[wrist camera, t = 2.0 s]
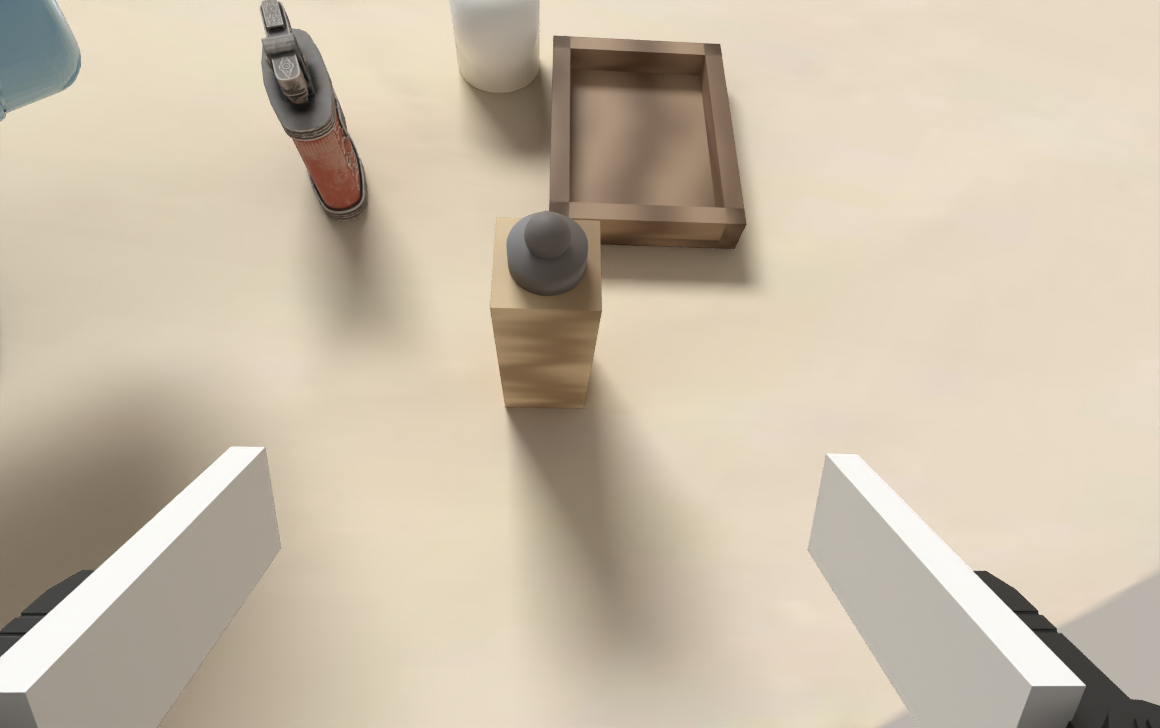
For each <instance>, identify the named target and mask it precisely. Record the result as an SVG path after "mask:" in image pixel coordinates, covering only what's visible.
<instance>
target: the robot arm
mask: <svg viewBox="0 0 1160 728" xmlns="http://www.w3.org/2000/svg"><path fill="white" fill-rule="evenodd" d="M80 67H81V54H80V50H79V47H78V44H77V41H76V39H75V37H74V35H73V33H72V31H71V29H70V27H69V25H68V23H67V21H66V19H65V17H64V15H63V13H62V11H61V9H60V8H59V6H58V4H57V2H56V0H0V122H1V121H2V120H3V119H4V118H5V117H6V113H8V112H11V111H13V110H16V109H18V108H21V107H23V106H26V105H28V104H31V103H33V102H36V101H38V100H41V99H43V98H46V97H48V96H51V95H53V94H56V93H58V92H61V91H63V90H65V89H66V88H68V87H69V86H70V85H72V83H73V82H74V81H75V80H76V78H77V75H78V73H79V70H80ZM280 549H281V544H280V538H279V531H278V525H277V519H276V512H275V506H274V500H273V493H272V487H271V480H270V474H269V468H268V461H267V455H266V449H265V447H230V448H229V449H228V450H227V451H226V452H225V453H223V454H222V455H221V456H220V457H219V458H218V459H217V460H216V461H215V462H214V463H213V464H211V465H210V466H209V467H208V468H207V469H206V470H205V471H204V472H203V473H202V474H200V475H199V476H198V477H197V478H196V479H195V480H194V481H193V482H192V483H191V484H190V485H188V486H187V487H186V488H185V489H184V490H183V491H182V492H181V493H180V494H179V495H177V496H176V497H175V498H174V499H173V500H172V501H171V502H170V503H169V504H168V505H167V506H165V507H164V508H163V509H162V510H161V511H160V512H159V513H158V514H157V515H156V516H154V517H153V518H152V519H151V520H150V521H149V522H148V523H147V524H146V525H145V526H144V527H142V528H141V529H140V530H139V531H138V532H137V533H136V534H135V535H134V536H133V537H131V538H130V539H129V540H128V541H127V542H126V543H125V544H124V545H123V546H122V547H121V548H119V549H118V550H117V551H116V552H115V553H114V554H113V555H112V556H111V557H110V558H108V559H107V560H106V561H105V562H104V563H103V564H102V565H101V566H100V567H99V568H98V569H96V570H82V571H80V572H78V573H77V574H75V575H73V576H71V577H70V578H68V579H66V580H64V581H63V582H61V583H59V584H57V585H56V586H54V587H52V588H50V589H49V590H47V591H46V592H45V593H44V594H43V595H41V596H40V597H39V598H38V599H37V600H36V601H34V602H33V603H32V604H31V605H30V606H29V607H27V608H26V609H25V610H24V611H23V612H22V613H21V616H20V618H15V619H14V620H12V621H11V622H10V623H9V624H8V625H7V626H6V627H4V628H3V629H2V630H1V631H0V728H157V727H158V726H159V724H160V723H161V721H162V720H163V718H164V717H165V715H166V714H167V713H168V711H169V710H170V708H171V707H172V705H173V704H174V702H175V701H176V700H177V698H178V697H179V695H180V694H181V692H182V691H183V689H184V688H185V687H186V685H187V684H188V682H189V681H190V679H191V678H192V676H193V675H194V674H195V672H196V671H197V669H198V668H199V666H200V665H201V663H202V662H203V660H204V659H205V658H206V656H207V655H208V653H209V652H210V650H211V649H212V647H213V646H214V645H215V643H216V642H217V640H218V639H219V637H220V636H221V634H222V633H223V632H224V630H225V629H226V627H227V626H228V624H229V623H230V621H231V620H232V618H233V617H234V616H235V614H236V613H237V611H238V610H239V608H240V607H241V605H242V604H243V603H244V601H245V600H246V598H247V597H248V595H249V594H250V592H251V591H252V590H253V588H254V587H255V585H256V584H257V582H258V581H259V579H260V578H261V576H262V575H263V574H264V572H265V571H266V569H267V568H268V566H269V565H270V563H271V562H272V561H273V559H274V558H275V556H276V555H277V553H278V552H279V550H280ZM808 552H809V553H810V555H811V557H812V558H813V560H814V561H815V563H816V564H817V566H818V568H819V569H820V571H821V572H822V574H823V576H824V577H825V579H826V580H827V582H828V584H829V585H830V587H831V588H832V590H833V592H834V593H835V595H836V596H837V598H838V600H839V601H840V603H841V604H842V606H843V608H844V609H845V611H846V612H847V614H848V616H849V617H850V619H851V620H852V622H853V623H854V625H855V627H856V628H857V630H858V631H859V633H860V635H861V636H862V638H863V639H864V641H865V643H866V644H867V646H868V647H869V649H870V651H871V652H872V654H873V655H874V657H875V659H876V660H877V662H878V663H879V665H880V667H881V668H882V670H883V671H884V673H885V675H886V676H887V678H888V679H889V681H890V682H891V684H892V686H893V687H894V689H895V690H896V692H897V694H898V695H899V697H900V698H901V700H902V702H903V703H904V705H905V706H906V708H907V710H908V711H909V713H910V714H911V715H912V718H913V719H914V721H915V722H916V724H917V725H918V727H919V728H1160V706H1159V705H1156V704H1152V703H1149V702H1146V701H1143V700H1133V699H1130V698H1129V697H1127V695H1125V693H1123V692H1122V691H1121V690H1120V689H1119V688H1118V687H1117V686H1116V685H1115V684H1114V683H1113V682H1112V681H1111V680H1110V679H1109V678H1108V677H1107V676H1106V675H1105V674H1104V673H1103V672H1102V671H1100V670H1099V669H1098V668H1097V667H1096V666H1095V665H1094V664H1093V663H1092V662H1091V661H1090V660H1089V659H1088V658H1087V657H1086V656H1085V655H1083V653H1082V652H1081V651H1080V650H1079V649H1077V648H1076V647H1075V646H1074V645H1073V644H1072V643H1071V642H1070V641H1069V640H1068V639H1067V638H1066V637H1065V636H1064V635H1063V634H1061V633H1058V632H1057V628H1056V627H1055V626H1053V625H1052V624H1051V623H1050V622H1049V621H1048V620H1047V619H1046V618H1045V617H1044V616H1043V615H1039V614H1038V610H1037V609H1036V608H1035V607H1034V606H1033V605H1032V604H1030V603H1029V602H1028V601H1027V600H1026V599H1025V598H1024V597H1023V596H1022V595H1021V594H1020V593H1019V592H1018V591H1017V590H1016V589H1014V588H1013V587H1011V586H1010V585H1008V584H1006V583H1005V582H1003V581H1001V580H1000V579H998V578H997V577H995V576H993V575H992V574H990V573H989V572H987V571H972V570H971V569H970V568H969V567H968V566H967V565H966V564H965V563H964V562H963V561H962V560H961V559H960V558H959V557H958V556H957V555H956V554H955V553H954V552H953V551H952V550H951V549H950V548H949V546H948V545H947V544H946V543H945V542H944V541H943V540H942V539H941V538H940V537H939V536H938V535H937V534H936V533H935V532H934V531H933V530H932V529H931V528H930V527H929V526H928V525H927V524H926V523H925V522H924V521H923V520H922V519H921V518H920V517H919V516H918V515H917V514H916V513H915V512H914V511H913V510H912V509H911V508H910V507H909V506H908V505H907V504H906V503H905V502H904V501H903V500H902V499H901V498H900V497H899V496H898V495H897V494H896V493H895V492H894V491H893V490H892V489H891V488H890V487H889V486H888V485H887V484H886V483H885V482H884V481H883V480H882V479H881V478H880V477H879V476H878V475H877V474H876V473H875V472H874V471H873V470H872V469H871V468H870V467H869V466H868V465H867V464H866V462H865V461H864V460H863V459H862V458H861V457H860V456H859V455H858V454H826V456H825V462H824V467H823V472H822V477H821V483H820V488H819V493H818V499H817V504H816V509H815V514H814V520H813V525H812V530H811V536H810V541H809V546H808Z"/></svg>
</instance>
